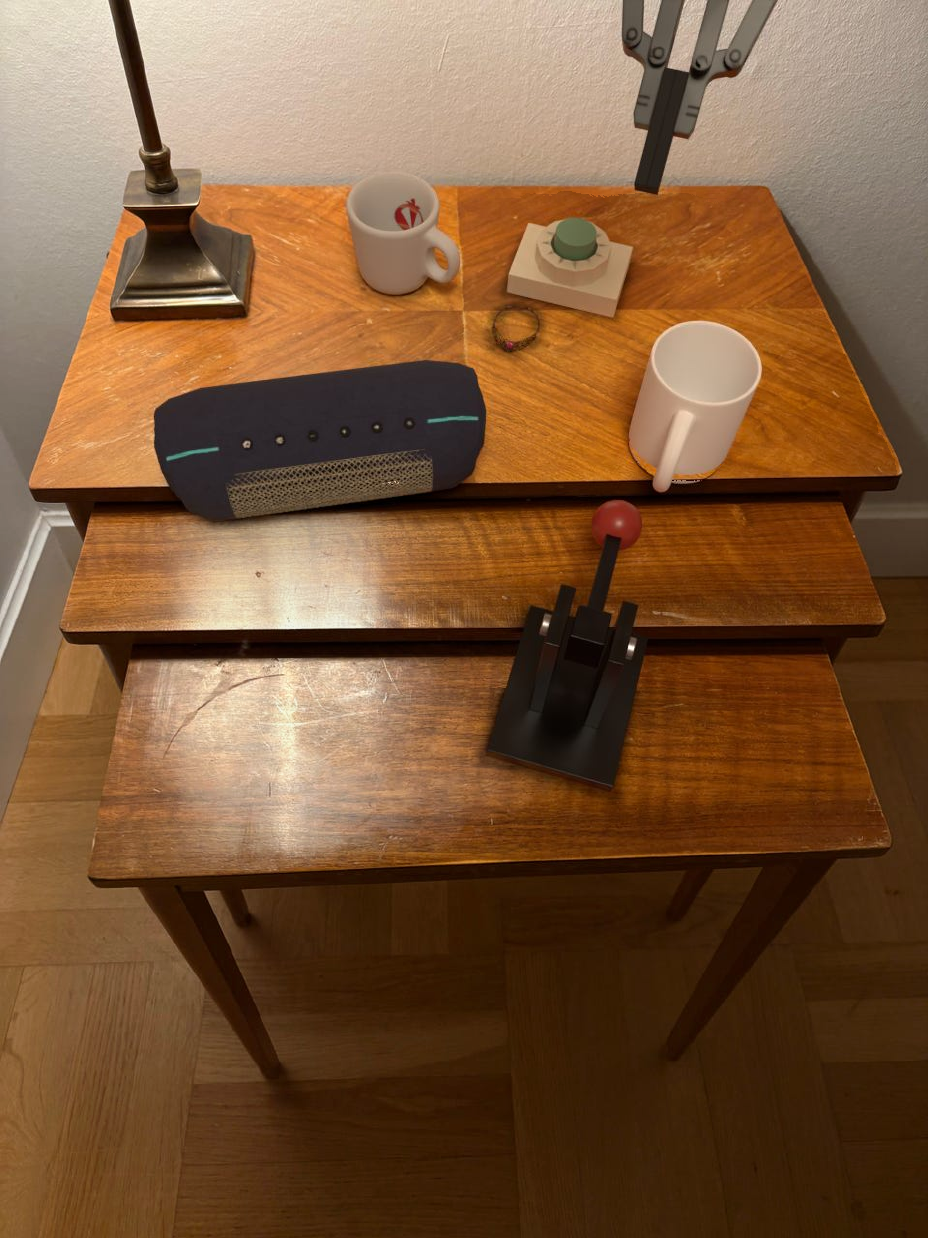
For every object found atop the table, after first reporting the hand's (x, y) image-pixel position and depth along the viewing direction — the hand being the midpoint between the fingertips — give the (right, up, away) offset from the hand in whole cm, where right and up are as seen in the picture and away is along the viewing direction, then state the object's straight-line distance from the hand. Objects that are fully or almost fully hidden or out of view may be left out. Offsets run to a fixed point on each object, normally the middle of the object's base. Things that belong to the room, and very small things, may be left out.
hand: (646, 189), depth 61 cm
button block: (-2, +5, +30) cm, 30 cm away
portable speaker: (-22, -16, +18) cm, 33 cm away
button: (-2, +6, +26) cm, 27 cm away
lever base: (-4, -33, +10) cm, 34 cm away
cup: (-17, +4, +29) cm, 34 cm away
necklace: (-7, -1, +26) cm, 27 cm away
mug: (+6, -14, +20) cm, 25 cm away
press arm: (-2, -25, +6) cm, 26 cm away
